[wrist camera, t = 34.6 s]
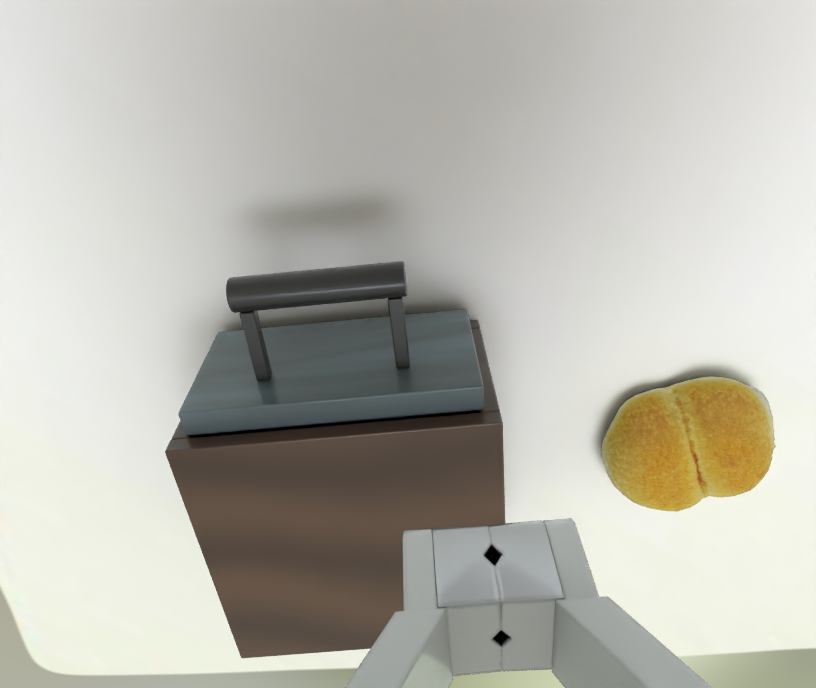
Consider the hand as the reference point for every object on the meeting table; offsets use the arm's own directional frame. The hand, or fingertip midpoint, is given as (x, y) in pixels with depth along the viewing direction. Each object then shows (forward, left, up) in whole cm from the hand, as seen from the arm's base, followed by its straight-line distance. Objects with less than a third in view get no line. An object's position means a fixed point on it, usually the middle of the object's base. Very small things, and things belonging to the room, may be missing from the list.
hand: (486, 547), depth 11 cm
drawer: (+9, -5, -20) cm, 22 cm away
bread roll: (+15, +13, -21) cm, 29 cm away
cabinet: (+13, -5, -21) cm, 25 cm away
